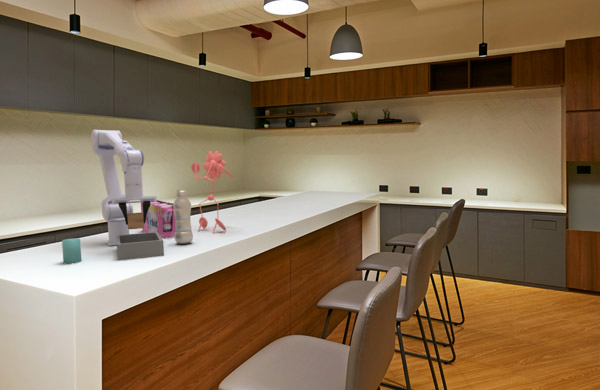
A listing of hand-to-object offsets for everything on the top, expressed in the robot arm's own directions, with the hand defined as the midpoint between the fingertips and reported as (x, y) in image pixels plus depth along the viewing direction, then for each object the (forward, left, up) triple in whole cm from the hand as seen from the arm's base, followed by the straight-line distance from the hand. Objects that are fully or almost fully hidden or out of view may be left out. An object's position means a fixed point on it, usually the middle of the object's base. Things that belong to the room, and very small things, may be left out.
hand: (135, 223), depth 145 cm
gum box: (-29, +10, -10) cm, 33 cm away
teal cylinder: (+8, -19, -10) cm, 23 cm away
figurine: (-26, +35, -10) cm, 44 cm away
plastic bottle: (-3, +17, -10) cm, 19 cm away
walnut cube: (0, 0, -2) cm, 2 cm away
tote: (+4, +1, -9) cm, 10 cm away
